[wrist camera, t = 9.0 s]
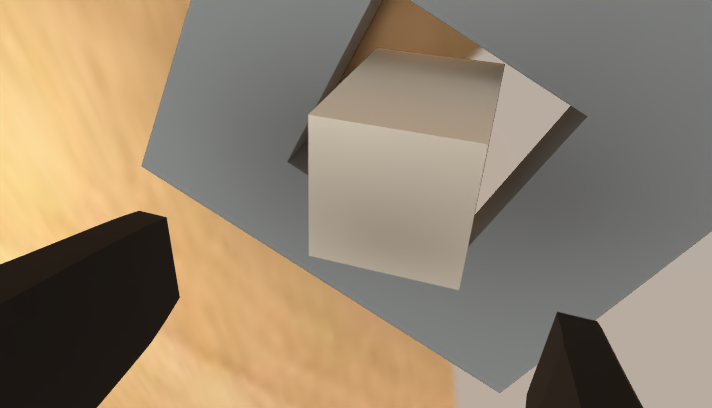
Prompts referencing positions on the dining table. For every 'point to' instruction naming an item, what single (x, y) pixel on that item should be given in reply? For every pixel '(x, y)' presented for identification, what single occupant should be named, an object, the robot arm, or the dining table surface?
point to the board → (511, 200)
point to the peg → (401, 164)
